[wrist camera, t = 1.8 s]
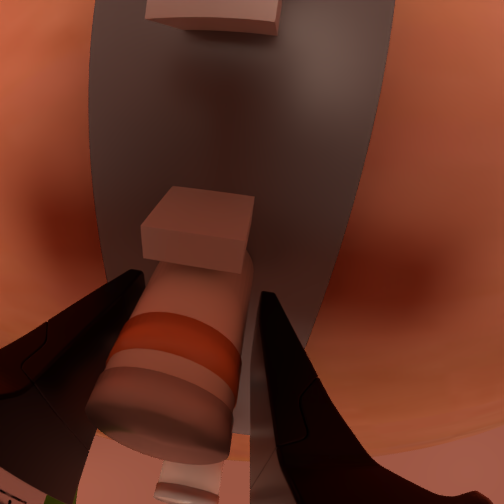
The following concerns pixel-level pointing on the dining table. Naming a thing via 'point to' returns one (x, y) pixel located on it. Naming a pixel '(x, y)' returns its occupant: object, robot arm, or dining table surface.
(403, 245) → the dining table surface
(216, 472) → the cylinder
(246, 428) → the fuse block
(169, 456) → the cylinder
